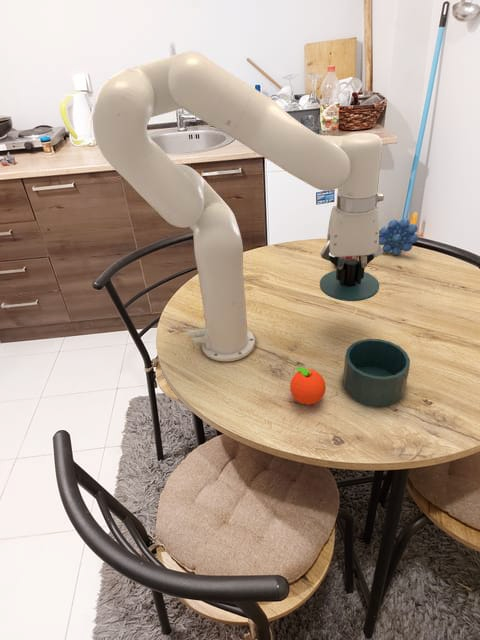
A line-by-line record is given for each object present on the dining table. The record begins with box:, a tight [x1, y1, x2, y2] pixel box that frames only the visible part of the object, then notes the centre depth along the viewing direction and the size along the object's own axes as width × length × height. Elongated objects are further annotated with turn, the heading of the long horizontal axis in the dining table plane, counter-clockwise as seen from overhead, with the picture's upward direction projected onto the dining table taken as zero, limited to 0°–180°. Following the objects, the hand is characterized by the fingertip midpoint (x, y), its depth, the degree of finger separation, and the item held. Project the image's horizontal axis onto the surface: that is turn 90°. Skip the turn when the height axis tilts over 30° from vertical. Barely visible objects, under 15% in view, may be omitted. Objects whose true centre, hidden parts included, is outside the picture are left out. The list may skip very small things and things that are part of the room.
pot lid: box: [319, 258, 380, 302], centre depth 94 cm, size 13×13×7 cm
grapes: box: [379, 218, 419, 256], centre depth 130 cm, size 12×7×12 cm, turn 58°
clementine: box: [289, 366, 327, 406], centre depth 84 cm, size 8×7×7 cm
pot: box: [342, 338, 411, 408], centre depth 85 cm, size 12×12×8 cm
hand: (349, 281), depth 95 cm, fingers closed on pot lid, 3 cm apart
